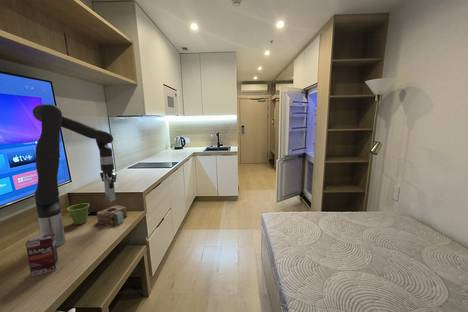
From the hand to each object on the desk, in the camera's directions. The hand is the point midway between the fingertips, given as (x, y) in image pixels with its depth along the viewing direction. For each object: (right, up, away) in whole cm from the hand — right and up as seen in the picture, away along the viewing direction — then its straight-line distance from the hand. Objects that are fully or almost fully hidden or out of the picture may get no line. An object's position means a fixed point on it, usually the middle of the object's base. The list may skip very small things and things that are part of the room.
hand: (109, 187), depth 136 cm
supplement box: (-1, -30, -45) cm, 54 cm away
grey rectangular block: (+7, -23, -1) cm, 24 cm away
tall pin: (0, -9, +1) cm, 9 cm away
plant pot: (-19, -23, 0) cm, 30 cm away
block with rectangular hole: (0, -22, +3) cm, 23 cm away
